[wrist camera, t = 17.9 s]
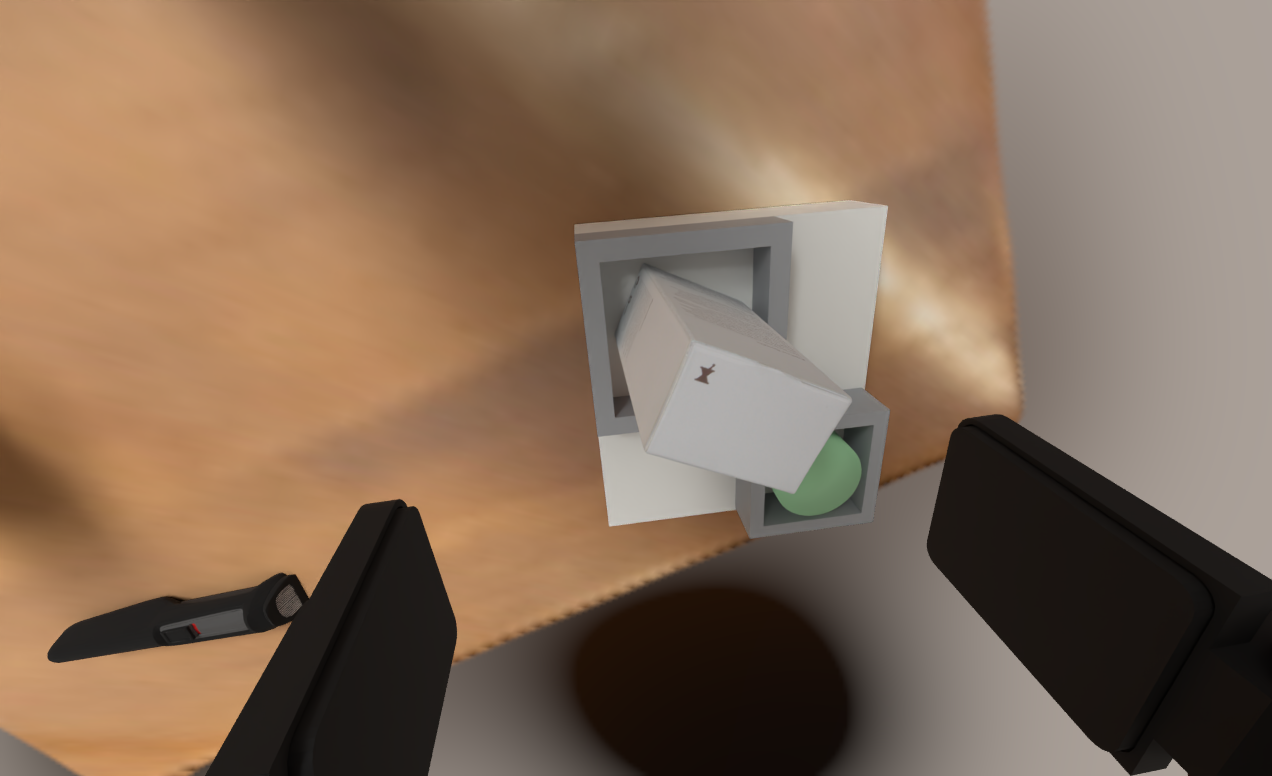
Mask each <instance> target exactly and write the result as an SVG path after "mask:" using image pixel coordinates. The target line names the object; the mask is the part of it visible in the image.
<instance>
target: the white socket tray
mask: <svg viewBox="0 0 1272 776" xmlns="http://www.w3.org/2000/svg"><path fill="white" fill-rule="evenodd" d="M887 210H888V206H886V205H879V204H873V203H866V202H859V201H853V200H844V201H833V202H821V203H810V204H799V205H788V206H776V207H765V208H754V209H743V210H731V211H720V212H709V213H697V214H686V215H675V216H664V217H652V218H641V219H630V220H619V221H607V222H596V223H585V224H574V237H575V250H576V258H577V266H578V275H579V283H580V292H581V300H582V308H583V317H584V325H585V334H586V342H587V350H588V359H589V367H590V375H591V384H592V392H593V401H594V409H595V417H596V426H597V434H598V437H599V445H600V453H601V462H602V470H603V479H604V487H605V496H606V504H607V512H608V521H609V526H616V525H624V524H631V523H639V522H647V521H654V520H662V519H670V518H677V517H685V516H692V515H700V514H708V513H715V512H723V511H731V510H737V512H738V514H739V516H740V519H741V521H742V523H743V525H744V527H745V529H746V532H747V534H748V536H749V538H750V539H753V538H760V537H767V536H775V535H782V534H789V533H797V532H804V531H811V530H819V529H826V528H833V527H841V526H848V525H855V524H863V523H870V522H873V519H874V512H875V506H876V499H877V493H878V486H879V480H880V473H881V467H882V460H883V454H884V447H885V441H886V434H887V428H888V421H889V414H890V410H889V409H888V408H887V407H886V406H884V405H883V404H882V403H881V402H879V401H878V400H877V399H876V398H874V397H873V396H872V395H871V394H869V393H868V392H867V391H866V390H865V383H866V375H867V367H868V359H869V352H870V344H871V336H872V328H873V320H874V312H875V305H876V297H877V289H878V281H879V273H880V265H881V257H882V250H883V242H884V234H885V226H886V218H887ZM643 263H645V264H648V265H650V266H653V267H656V268H658V269H661V270H663V271H666V272H668V273H671V274H674V275H676V276H679V277H681V278H684V279H686V280H689V281H692V282H694V283H697V284H699V285H702V286H704V287H707V288H709V289H712V290H714V291H717V292H720V293H722V294H725V295H727V296H730V297H732V298H735V299H737V300H740V301H742V302H743V303H744V304H745V305H746V306H748V307H749V308H750V309H751V310H752V311H753V312H754V313H756V314H757V315H758V316H759V317H760V318H761V319H762V320H763V321H765V322H766V323H767V324H768V325H769V326H770V327H771V328H773V329H774V330H775V331H776V332H777V333H778V334H780V335H781V336H782V337H783V338H784V339H785V340H787V341H788V342H789V343H790V344H791V345H792V346H793V347H794V348H796V349H797V350H798V351H799V352H800V353H801V354H803V355H804V356H805V357H806V358H807V359H808V360H809V361H811V362H812V363H813V364H814V365H815V366H816V367H817V368H818V369H820V370H821V371H822V372H823V373H824V374H825V375H826V376H828V377H829V378H830V379H831V380H832V381H833V382H834V383H835V384H837V385H838V386H839V387H840V388H841V389H842V390H843V391H844V392H846V393H847V394H848V395H849V396H850V397H851V398H852V403H851V405H850V406H849V408H848V409H847V411H846V412H845V414H844V415H843V417H842V418H841V420H840V421H839V423H838V424H837V426H836V428H835V429H834V431H835V432H836V433H837V434H838V435H839V436H840V437H841V438H842V439H843V440H844V441H845V442H846V443H847V444H848V445H849V446H850V447H851V448H852V449H853V450H854V451H855V453H856V454H857V455H858V457H859V459H860V462H861V469H862V471H861V478H860V481H859V484H858V486H857V488H856V490H855V491H854V493H853V494H852V495H851V496H850V498H849V499H848V500H847V501H845V502H844V503H843V504H842V505H840V506H839V507H837V508H836V509H834V510H832V511H829V512H827V513H824V514H820V515H814V516H803V515H798V514H795V513H792V512H790V511H789V510H787V509H786V508H785V507H783V506H782V504H781V503H780V502H779V500H778V498H777V497H776V495H775V493H774V492H773V490H772V488H770V487H767V486H763V485H760V484H756V483H752V482H749V481H745V480H741V479H738V478H734V477H730V476H727V475H723V474H719V473H715V472H712V471H708V470H704V469H701V468H697V467H693V466H690V465H686V464H683V463H679V462H676V461H672V460H668V459H665V458H661V457H658V456H654V455H651V454H647V453H646V452H645V451H644V448H643V445H642V441H641V437H640V433H639V429H638V425H637V421H636V417H635V413H634V410H633V406H632V402H631V398H630V394H629V390H628V386H627V382H626V378H625V374H624V370H623V366H622V362H621V359H620V355H619V351H618V347H617V343H616V339H615V331H616V329H617V326H618V324H619V322H620V319H621V317H622V314H623V311H624V309H625V306H626V304H627V301H628V298H629V296H630V293H631V291H632V288H633V286H634V283H635V281H636V279H637V276H638V274H639V271H640V269H641V266H642V264H643Z"/></svg>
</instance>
